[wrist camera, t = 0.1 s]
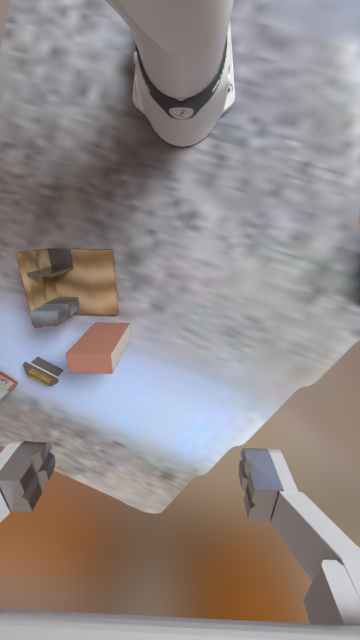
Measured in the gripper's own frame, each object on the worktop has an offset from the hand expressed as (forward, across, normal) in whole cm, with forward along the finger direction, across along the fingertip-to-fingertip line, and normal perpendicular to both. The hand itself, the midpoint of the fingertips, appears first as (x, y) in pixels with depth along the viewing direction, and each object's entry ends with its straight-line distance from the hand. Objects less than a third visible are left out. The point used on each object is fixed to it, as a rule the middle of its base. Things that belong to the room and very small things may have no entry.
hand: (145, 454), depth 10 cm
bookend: (+47, +28, -2) cm, 55 cm away
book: (+48, +18, +17) cm, 54 cm away
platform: (+49, +38, +29) cm, 68 cm away
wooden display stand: (+48, +24, +4) cm, 54 cm away
